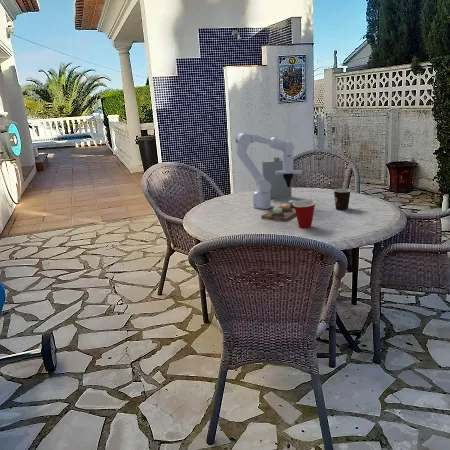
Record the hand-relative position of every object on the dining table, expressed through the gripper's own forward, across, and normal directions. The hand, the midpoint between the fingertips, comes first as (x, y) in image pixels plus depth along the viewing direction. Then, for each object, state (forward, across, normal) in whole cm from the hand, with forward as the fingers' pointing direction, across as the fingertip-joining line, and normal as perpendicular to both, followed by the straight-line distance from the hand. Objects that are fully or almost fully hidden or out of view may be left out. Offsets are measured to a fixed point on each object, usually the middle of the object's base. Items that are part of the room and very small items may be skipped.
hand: (288, 186), depth 240 cm
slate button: (+8, +4, -10) cm, 13 cm away
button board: (+10, +2, -19) cm, 21 cm away
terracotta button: (+8, +2, -19) cm, 20 cm away
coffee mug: (+11, +29, -4) cm, 32 cm away
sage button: (+7, -1, -27) cm, 28 cm away
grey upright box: (+11, -11, +18) cm, 24 cm away
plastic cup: (+10, +15, -41) cm, 45 cm away
